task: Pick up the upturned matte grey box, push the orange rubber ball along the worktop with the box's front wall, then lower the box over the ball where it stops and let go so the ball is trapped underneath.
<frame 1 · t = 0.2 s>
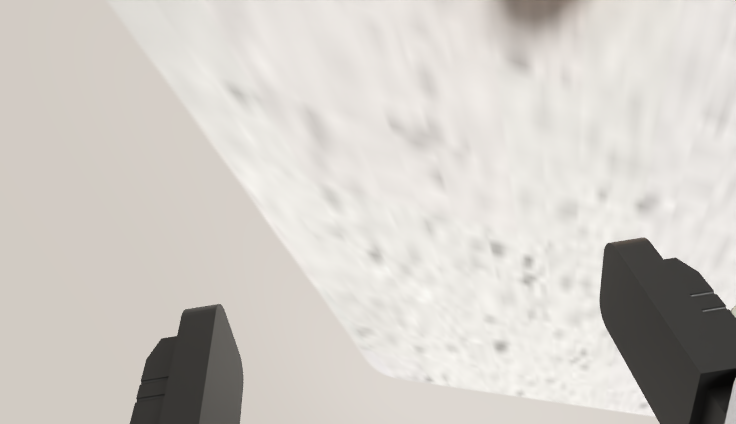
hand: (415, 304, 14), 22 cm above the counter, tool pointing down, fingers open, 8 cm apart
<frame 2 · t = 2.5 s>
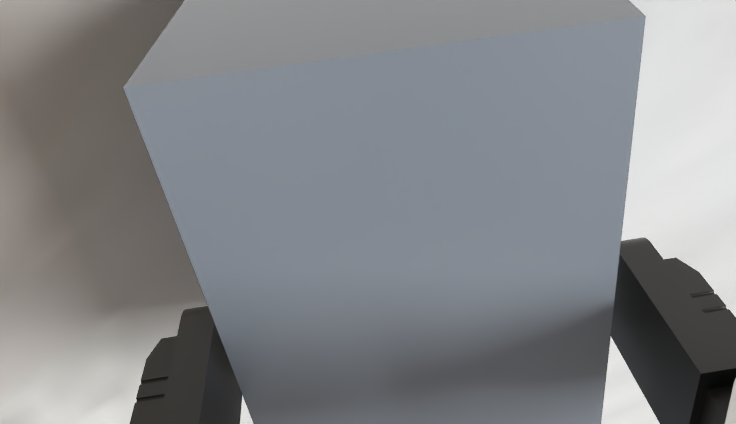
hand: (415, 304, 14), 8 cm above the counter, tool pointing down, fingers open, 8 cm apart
matte grey box: (397, 127, 19), on the counter
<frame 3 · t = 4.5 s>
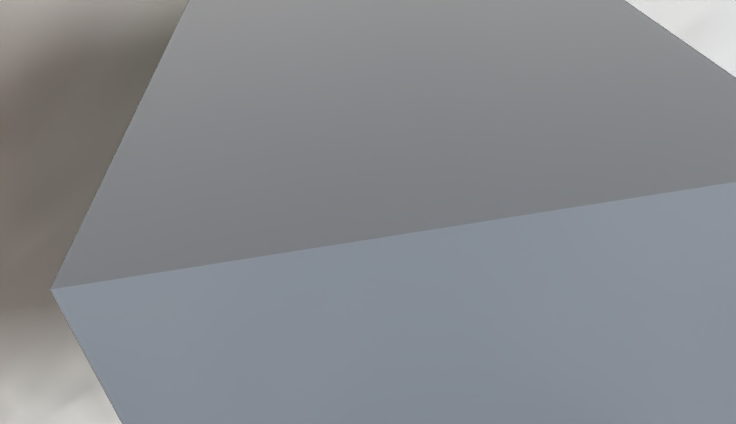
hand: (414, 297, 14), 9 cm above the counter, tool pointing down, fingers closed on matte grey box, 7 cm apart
matte grey box: (397, 213, 16), point 6 cm above the counter, touching gripper
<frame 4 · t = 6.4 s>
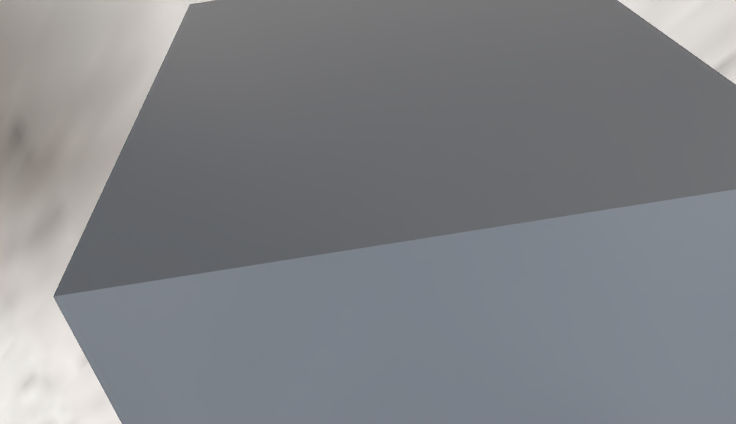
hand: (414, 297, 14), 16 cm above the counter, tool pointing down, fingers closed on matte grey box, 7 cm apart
matte grey box: (397, 215, 16), point 13 cm above the counter, touching gripper
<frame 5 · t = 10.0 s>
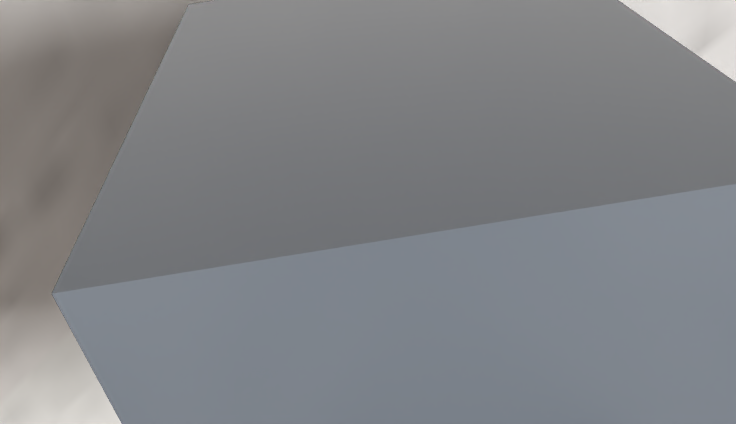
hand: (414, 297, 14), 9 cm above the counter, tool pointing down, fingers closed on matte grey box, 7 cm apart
matte grey box: (396, 215, 16), point 6 cm above the counter, touching gripper
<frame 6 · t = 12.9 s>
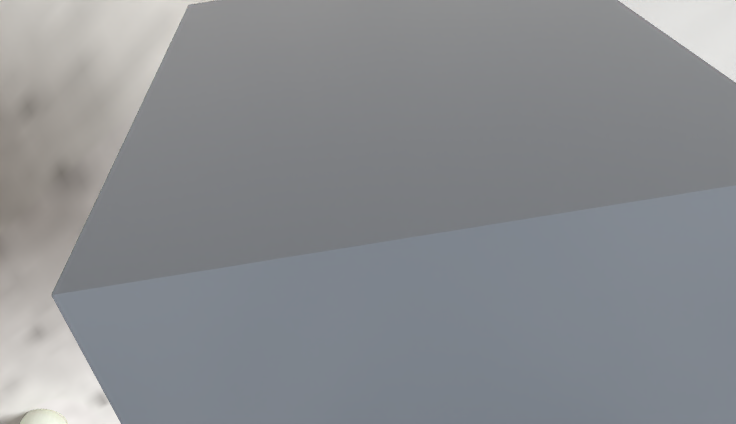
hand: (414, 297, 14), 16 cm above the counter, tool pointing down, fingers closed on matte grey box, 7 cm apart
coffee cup: (47, 411, 38), on the counter
matte grey box: (396, 215, 16), point 13 cm above the counter, touching gripper
when the fingers open (3 cm above the counter, at t = 15.4 s): matte grey box stays where it is, on the counter.
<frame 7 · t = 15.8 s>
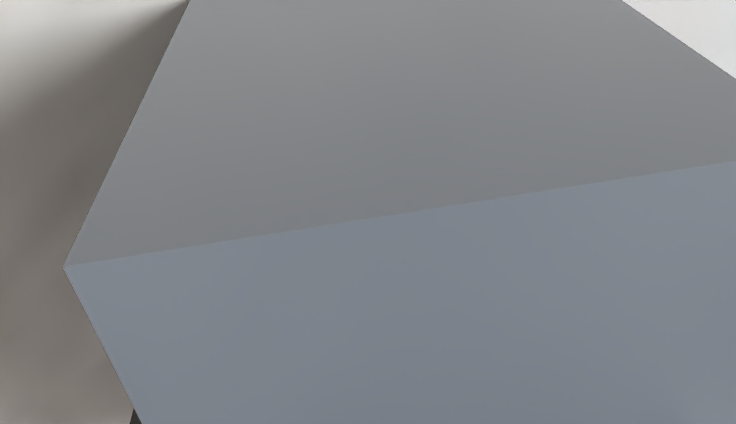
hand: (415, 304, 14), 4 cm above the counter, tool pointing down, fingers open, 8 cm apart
matte grey box: (395, 207, 17), on the counter
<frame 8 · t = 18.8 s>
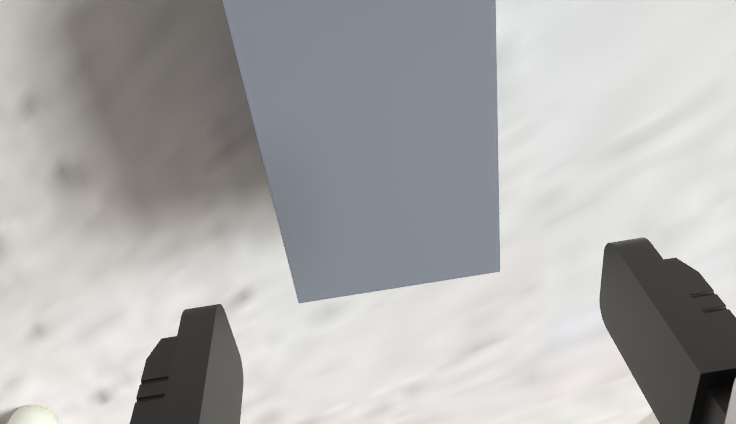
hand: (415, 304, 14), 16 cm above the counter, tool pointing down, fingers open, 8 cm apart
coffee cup: (38, 407, 38), on the counter
matte grey box: (357, 42, 27), on the counter
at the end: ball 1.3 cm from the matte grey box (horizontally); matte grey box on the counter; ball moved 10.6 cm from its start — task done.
